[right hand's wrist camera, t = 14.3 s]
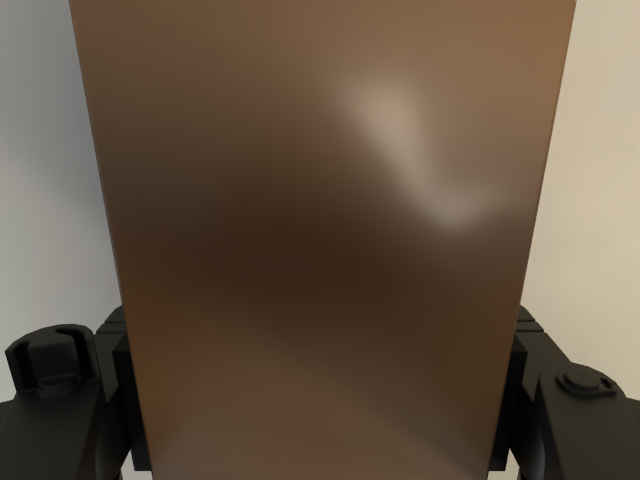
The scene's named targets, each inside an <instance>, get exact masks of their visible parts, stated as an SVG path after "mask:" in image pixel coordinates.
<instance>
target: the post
mask: <svg viewBox="0 0 640 480" xmlns="http://www.w3.org/2000/svg"><path fill="white" fill-rule="evenodd" d="M576 1H577V0H69V4H70V10H71V15H72V21H73V27H74V33H75V38H76V44H77V50H78V55H79V61H80V67H81V73H82V78H83V84H84V90H85V95H86V101H87V107H88V112H89V118H90V124H91V130H92V135H93V141H94V147H95V152H96V158H97V164H98V170H99V175H100V181H101V187H102V192H103V198H104V204H105V210H106V215H107V221H108V227H109V232H110V238H111V244H112V249H113V255H114V261H115V267H116V272H117V278H118V284H119V289H120V295H121V301H122V307H123V312H124V318H125V324H126V329H127V335H128V341H129V346H130V352H131V358H132V364H133V369H134V375H135V381H136V386H137V392H138V398H139V404H140V409H141V415H142V421H143V426H144V432H145V438H146V443H147V449H148V455H149V461H150V466H151V472H152V478H153V480H487V478H488V473H489V467H490V462H491V457H492V451H493V446H494V441H495V435H496V430H497V425H498V419H499V414H500V408H501V403H502V398H503V392H504V387H505V382H506V376H507V371H508V366H509V360H510V355H511V349H512V344H513V339H514V333H515V328H516V323H517V317H518V312H519V307H520V301H521V296H522V290H523V285H524V280H525V274H526V269H527V264H528V258H529V253H530V248H531V242H532V237H533V231H534V226H535V221H536V215H537V210H538V205H539V199H540V194H541V189H542V183H543V178H544V172H545V167H546V162H547V156H548V151H549V146H550V140H551V135H552V130H553V124H554V119H555V114H556V108H557V103H558V97H559V92H560V87H561V81H562V76H563V71H564V65H565V60H566V55H567V49H568V44H569V38H570V33H571V28H572V22H573V17H574V12H575V6H576Z"/></svg>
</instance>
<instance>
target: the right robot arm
mask: <svg viewBox="0 0 640 480" xmlns="http://www.w3.org/2000/svg"><path fill="white" fill-rule="evenodd" d="M5 354H6V358H7V361H8V365H9V368H10V371H11V375H12V378H13V382H14V385H15V388H16V392H17V393H16V395H15V397H14V399H13V400H10V401H6V402H1V403H0V480H123V477H122V472H121V467H122V465H123V463H124V461H125V459H126V457H127V455H128V453H129V451H130V450H131V455H132V460H133V465H134V470H135V471H151V466H150V461H149V455H148V449H147V443H146V438H145V432H144V426H143V421H142V415H141V409H140V404H139V398H138V392H137V386H136V381H135V375H134V369H133V364H132V358H131V352H130V346H129V341H128V335H127V329H126V324H125V318H124V312H123V307H122V305H121V306H119V307H118V308H116V309H115V310H114V311H113V312H112V313H111V314H110V316H109V317H108V318H107V319H106V320H105V323H104V324H102V325H101V326H100V328H99V329H98V330H97V331H96V334H94V335H93V333H92V331H91V330H90V329H89V328H87V327H86V326H82V325H77V324H60V325H55V326H50V327H45V328H42V329H39V330H36V331H34V332H31V333H29V334H26V335H24V336H23V337H21V338H19V339H18V340H16V341H15V342H13V343H12V344H11V345H10V346H9V347H8V348H7V349H6V350H5ZM509 448H510V449H511V451H512V453H513V455H514V457H515V459H516V461H517V463H518V465H519V472H518V477H517V480H640V401H639V400H634V399H630V398H627V397H626V396H625V394H624V392H623V391H622V389H621V388H620V387H619V386H618V384H617V383H616V382H615V381H613V380H612V379H611V378H609V377H608V376H606V375H605V374H603V373H601V372H599V371H597V370H595V369H592V368H590V367H588V366H584V365H580V364H576V363H572V362H571V361H570V360H569V359H568V358H567V357H566V355H565V354H564V353H563V352H562V351H561V350H560V348H559V347H558V346H557V345H556V344H555V343H554V341H553V340H552V339H551V338H550V337H549V335H548V334H547V333H544V330H543V328H542V327H541V326H540V325H539V324H538V322H535V319H534V318H533V317H532V315H531V314H530V313H529V312H528V311H527V310H526V308H525V307H523V306H521V305H520V307H519V312H518V317H517V323H516V328H515V333H514V339H513V344H512V349H511V355H510V360H509V366H508V371H507V376H506V382H505V387H504V392H503V398H502V403H501V408H500V414H499V419H498V425H497V430H496V435H495V441H494V446H493V451H492V457H491V462H490V467H489V471H505V468H506V463H507V458H508V453H509Z"/></svg>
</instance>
